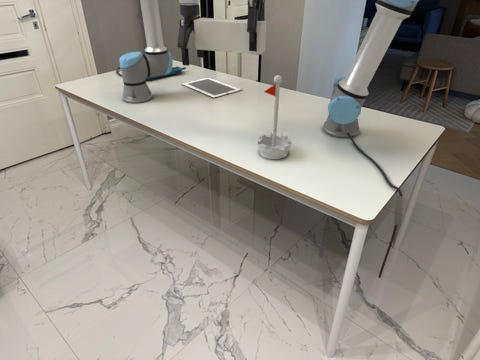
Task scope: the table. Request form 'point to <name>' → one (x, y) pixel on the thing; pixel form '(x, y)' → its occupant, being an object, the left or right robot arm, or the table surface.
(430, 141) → the table surface
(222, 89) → the tablet
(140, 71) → the left robot arm
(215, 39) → the box
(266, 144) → the flag stand
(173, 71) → the submachine gun
